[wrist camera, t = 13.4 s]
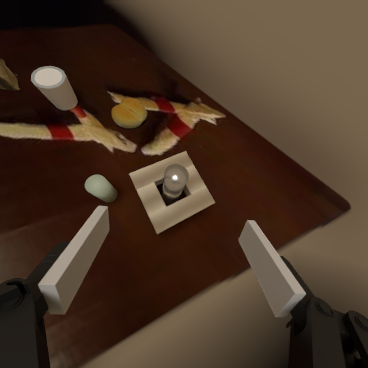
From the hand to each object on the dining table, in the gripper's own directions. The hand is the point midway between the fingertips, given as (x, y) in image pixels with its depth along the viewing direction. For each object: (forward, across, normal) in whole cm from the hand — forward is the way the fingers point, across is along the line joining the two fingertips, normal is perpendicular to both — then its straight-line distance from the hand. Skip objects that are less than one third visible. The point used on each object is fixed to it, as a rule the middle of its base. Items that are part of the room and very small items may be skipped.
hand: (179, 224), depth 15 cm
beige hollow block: (+20, 0, -10) cm, 23 cm away
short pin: (+20, -14, -10) cm, 27 cm away
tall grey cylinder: (+20, 0, -10) cm, 23 cm away
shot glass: (+37, -30, +6) cm, 48 cm away
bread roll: (+36, -14, +5) cm, 39 cm away
